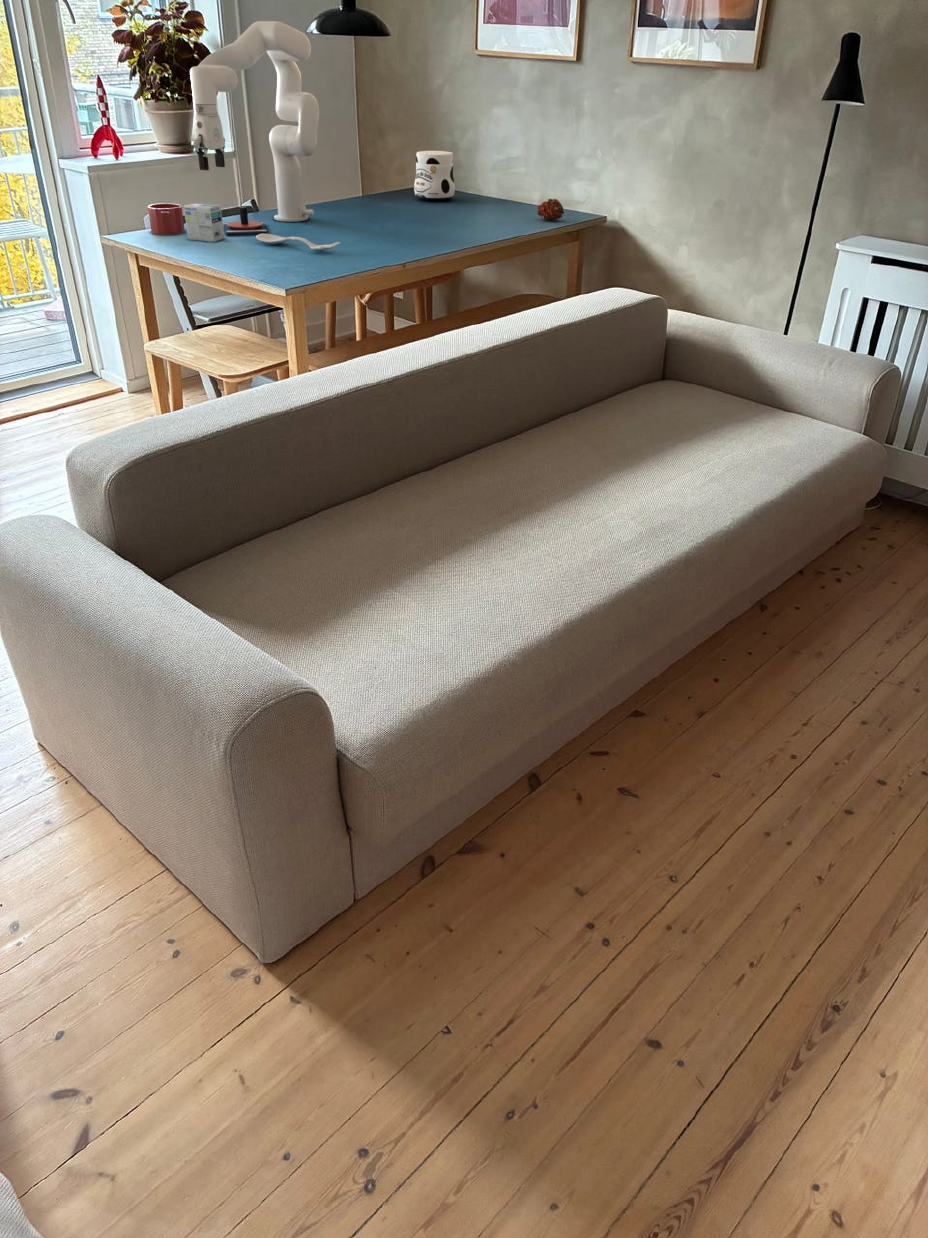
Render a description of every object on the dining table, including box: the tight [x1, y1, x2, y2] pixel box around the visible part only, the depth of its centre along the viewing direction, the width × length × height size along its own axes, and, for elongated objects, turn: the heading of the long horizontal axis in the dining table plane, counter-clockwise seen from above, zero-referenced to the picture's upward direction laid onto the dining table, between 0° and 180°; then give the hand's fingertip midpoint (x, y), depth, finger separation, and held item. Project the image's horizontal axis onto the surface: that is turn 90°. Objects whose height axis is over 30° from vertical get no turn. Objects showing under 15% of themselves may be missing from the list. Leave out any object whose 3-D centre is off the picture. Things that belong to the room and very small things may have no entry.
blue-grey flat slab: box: [223, 221, 269, 237], centre depth 337 cm, size 14×20×1 cm
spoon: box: [255, 233, 341, 252], centre depth 311 cm, size 9×32×4 cm, turn 56°
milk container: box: [413, 150, 456, 202], centre depth 397 cm, size 17×17×18 cm
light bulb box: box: [183, 202, 225, 243], centre depth 319 cm, size 11×7×11 cm, turn 71°
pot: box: [147, 202, 186, 236], centre depth 329 cm, size 11×17×8 cm
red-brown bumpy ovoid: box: [536, 198, 565, 222], centre depth 363 cm, size 8×8×12 cm
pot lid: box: [227, 206, 262, 230], centre depth 335 cm, size 12×12×7 cm
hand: (212, 168), depth 316 cm, fingers open, 9 cm apart
